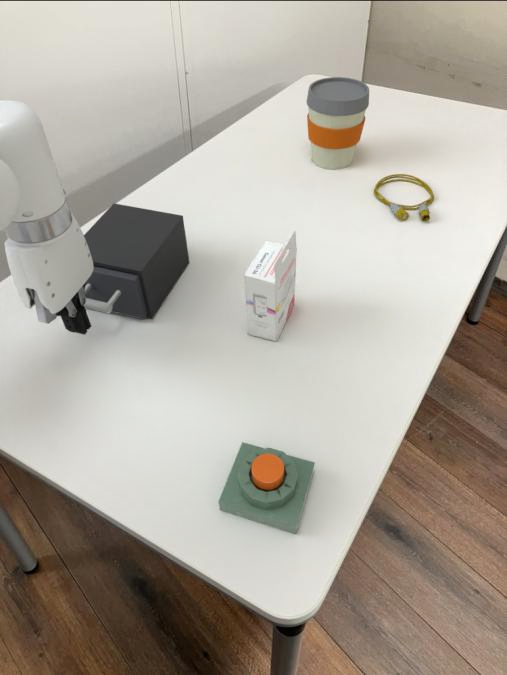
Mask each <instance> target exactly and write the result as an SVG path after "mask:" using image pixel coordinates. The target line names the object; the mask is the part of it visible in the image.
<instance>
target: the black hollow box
mask: <svg viewBox="0 0 507 675" xmlns="http://www.w3.org/2000/svg"><path fill="white" fill-rule="evenodd" d="M83 235H84V237H85V239H86V242H87V245H88V247H89V250H90V253H91V257H92V260H93V265H95V266H100V267H105V268H109V269H114V270H119V271H123V272H128V273H133V274H137V275H138V276H139V280H140V284H141V288H142V292H143V296H144V300H145V305H146V309H147V313H148V315H147V316H146V318H147V319H151V320H152V319H154V317H155V316H156V314H157V313H158V311H159V310H160V308H161V307H162V306H163V304H164V302H165V301H166V299H167V297H168V296H169V295H170V293H171V291H173V288H174V287H175V285H176V284H177V282H178V281H179V280H180V278H181V276H182V275H183V273H184V272H185V270H186V269H187V267H188V266H189V264H190V256H189V250H188V243H187V242H188V241H187V235H186V228H185V220H184V216H183V215H181V214H177V213H175V214H174V213H171V212H170V213H169V212H165V211H159V210H154V209H148V208H142V207H138V206H131V205H125V204H120V203H112V204H111V206H109V208H108V209H106V211H105V212H104V213H103V214H102V215H101V216H100V218H98V219H97V221H95V223H94V224H93V225H92V226H91V227H90V228H88V230H87V231H86V232H85V233H84V234H83Z"/></svg>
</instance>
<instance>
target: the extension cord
mask: <svg viewBox="0 0 507 675" xmlns="http://www.w3.org/2000/svg"><path fill="white" fill-rule="evenodd" d="M393 182H408V183H412V184H415V185H418V186H420V187H422V188H424V189H425V190H426V191H428V193H429V195H430V197H429V198H428V199H426V200H424V201H422V202H420V203H418V204H415V205H407V204H399V203H395V202H391V201H389V200H388V199H386V198H385V197H384V196H383V195H382V194H381V193H380V192H379V191H378V189H379V188H380V187H381V186H383V185H385V184H388V183H393ZM373 194H374V196H375V198H377V199H378V200H379V201H380V202H382V203H383V204H385V205H387V206H389V209H390V210H391V212H392V213H393V215H394V216H396V217H397V218H398V219H399V220H401V221H402V222H404V221H406V220H408V219H409V217H410V215H409V212H408V211H409V210H410V211H415V210H418V214H419V217H420V218H421V221H422V222H429V221H430V220H431V215H430V213H431V212H430V208H429V207H428V206H429V205H431V204H432V203H433V202H434V200H435V195H434V191H433V189H432V188H431V186H429V184H428V183H427V182H425V181H424V180H422V179H421V178H419V177H416V176H414V175H411V174H406V173H395V174H389V175H386V176H385V177H382V178H381V179H380V180H379V181H378V182H376V184H375V186H374V188H373ZM406 210H408V211H406Z"/></svg>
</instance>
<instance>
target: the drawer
mask: <svg viewBox="0 0 507 675" xmlns="http://www.w3.org/2000/svg"><path fill="white" fill-rule="evenodd" d="M93 266H94V269H93V272H92V274H91V276H90V277H89V279H88V280H87V282H86V283H85V284H86V286H85V290H84V292H85V297H86V303H85V305H84V307H85V309H89V310H94V311H98V312H102V313H106V314H111V313H117V314H121V315H124V316H129V317H133V318H138V319H142V320H145V319H146V318H147V317H146V316H147V315H148V313H147V309H146V305H145V300H144V296H143V292H142V288H141V284H140V280H139V276H138V275H137V274H133V273H128V272H123V271H119V270H114V269H109V268H105V267H100V266H95V265H93Z"/></svg>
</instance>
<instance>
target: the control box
mask: <svg viewBox="0 0 507 675" xmlns="http://www.w3.org/2000/svg"><path fill="white" fill-rule="evenodd" d="M262 454H273V455H276V456H277V457H279V458H280V459H281V460H282V462H283V464H284V479H283V482H282V483H281V485H280V486H279V487H277V488H276V489H273V490H263V489H260V488H259V487H257V486H256V485H255V484H254V482H253V480H252V471H251V467H252V463H253V461H254V460H255V459H256V458H257V457H258V456H260V455H262ZM315 463H316V462H314V461H311V460H307V459H303V458H300V457H297V456H292V455H289V454H287V453H285V452H284V451H283V450H279V449H275V448H273V447H266V448H265V447H262V446H258V445H254V444H250V443H248V442H243V441H242V442H241V444H240V447H239V449H238V452H237V454H236V456H235V459H234V461H233V464H232V467H231V469H230V472H229V475H228V477H227V480H226V482H225V485H224V486H223V489H222V492H221V494H220V497H219V499H218V507H219V511H221V512H224V513H228V514H230V515H234V516H236V517H237V516H238V517H240V518H243V519H247V520H249V521H252V522H256V523H259V524H262V525H265V526H268V527H271V528H274V529H278V530H280V531H283V532H287V533H289V534H293V535H297V532H298V528H299V525H300V521H301V519H302V514H303V511H304V507H305V504H306V500H307V498H308V497H307V496H308V493H309V490H310V487H311V482H312V479H313V475H314V472H315V466H316V464H315Z"/></svg>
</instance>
